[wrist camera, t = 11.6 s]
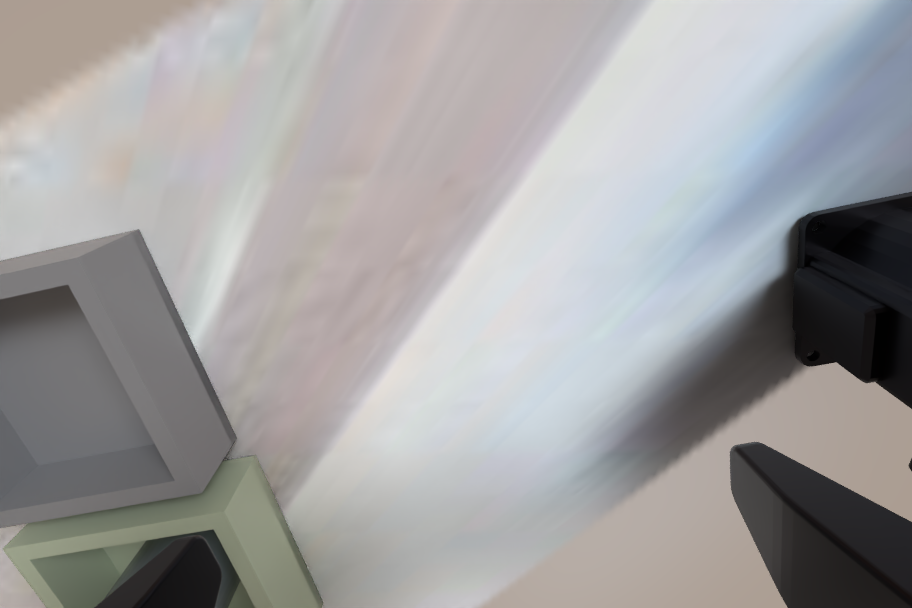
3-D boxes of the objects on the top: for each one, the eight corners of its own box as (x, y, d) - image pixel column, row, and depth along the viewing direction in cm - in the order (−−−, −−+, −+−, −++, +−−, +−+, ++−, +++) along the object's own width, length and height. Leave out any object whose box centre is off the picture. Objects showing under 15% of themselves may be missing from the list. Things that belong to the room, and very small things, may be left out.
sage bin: (255, 455, 25) (224, 511, 21) (323, 602, 28) (305, 669, 25) (60, 490, 26) (2, 549, 22) (151, 628, 29) (113, 695, 26)
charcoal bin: (138, 229, 20) (78, 257, 17) (236, 438, 24) (202, 493, 21) (-89, 281, 21) (-188, 316, 18) (39, 474, 25) (-23, 531, 22)
